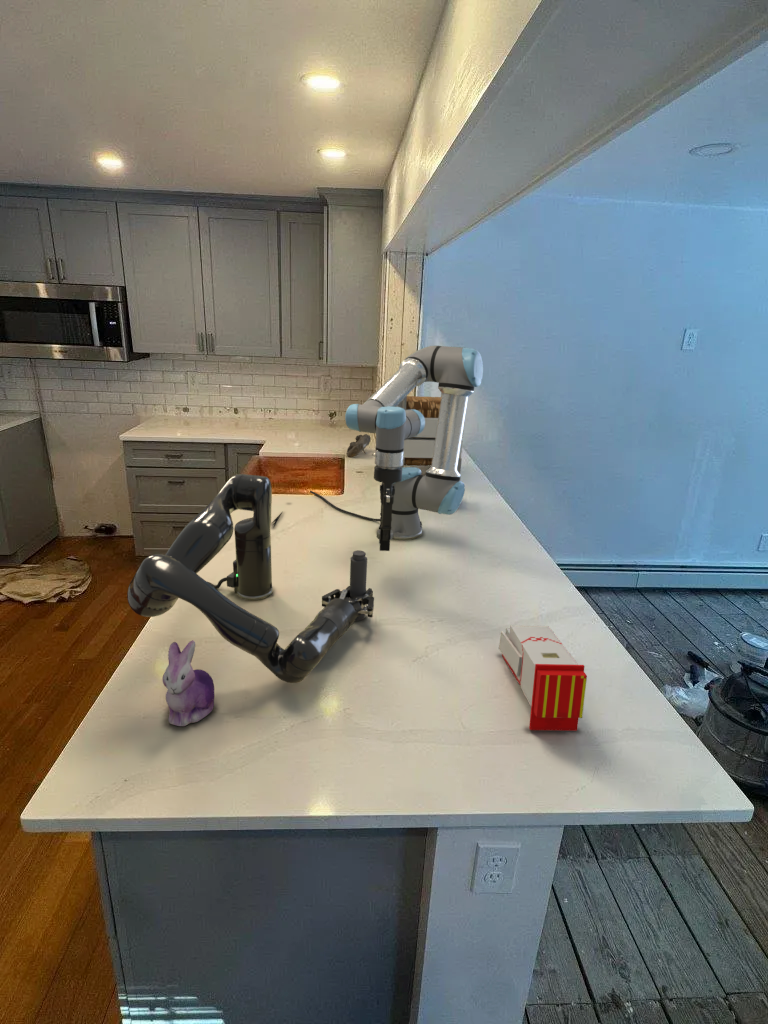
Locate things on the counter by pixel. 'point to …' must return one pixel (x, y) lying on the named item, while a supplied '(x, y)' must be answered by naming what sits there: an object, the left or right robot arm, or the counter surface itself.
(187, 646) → the figurine
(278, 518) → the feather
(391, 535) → the lid
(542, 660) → the toy
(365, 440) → the fossil
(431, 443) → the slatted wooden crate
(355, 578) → the dark gray cylinder
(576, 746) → the counter surface
